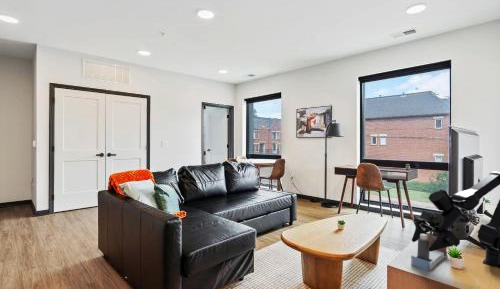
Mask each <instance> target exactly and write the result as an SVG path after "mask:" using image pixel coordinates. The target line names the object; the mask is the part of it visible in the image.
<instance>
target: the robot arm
mask: <svg viewBox="0 0 500 289" xmlns="http://www.w3.org/2000/svg"><path fill="white" fill-rule="evenodd" d="M499 186H500V171H491V172H490V173H489V174H488V175H487V176H486V177H484V178H483V179H481V180H479V182H477V183H476V184H474V185H473V186H472V187H470V188H468V189H465V190H464V189H463V190H460V191H458V192H456V193H454V194H453V195H452V196H451V195H449V194H448V192H447V191H446V190H445V189H440V190H438V191H437V190H436V191H435V192H431V194H429V196H428V200H429V201H430V202H431V203H432V205H433V206H434V208H436V209H437V210H438V211H440V213H436V212H434V213H431V212H428V211H426V210H422V212H421V214H420V216H419V217H415V218H414V219H413V220H412V222H413V225H414V227H415V228H414V233H413V235H412V238H411V241H412V243H415V242H418V238H420V234H426V235H427V233H430V231H431V232H432V233H433V232H434V233H436V234H437V239H436V240H435V241H434V243H433V244H432V245H431V246H430V247H429V249H428V250H429V251H430V252H431V251H434V250H438V249H441V248H446V247H447V248H450V247H452V248H453V247H456V248H457V247H458V246H459V245H460V244H461V239H460V238H458V236H457V235H456V234H455V233H454V232H453V231H451V230H450V229H452V230H453V229H454V228H455V226H454V224H456V222H458V220H459V219H463V220H466V219H467V215H466V212H465V211H469V212H470V211H473V210H474V209H475V208H476V207H477V206H478V205H479V204H480V200H481V199H482V198H483V197H484V196H486V195H487V194H489V193H490V192H492V191H493V190H494V189H495V188H497V187H499ZM461 209H462V210H464V211H462V210H461ZM477 238H478V241H479V246H482V247H484V248H485V258H484V260H482V263H483V264H486V265H489V266H492V267H496V268H500V199H499V200H498V202H497V204H496V206H495V209H494V210H493V213H492V216H491V219H490V220H489V222H488V223H487V224H483V223H481V224H480V226H479V230H478V231H477Z"/></svg>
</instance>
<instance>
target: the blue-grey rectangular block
mask: <svg viewBox="0 0 500 289" xmlns="http://www.w3.org/2000/svg"><path fill="white" fill-rule="evenodd" d="M444 259H445V255H444V252H441V251H437V250H434V251H431V252H430V251H429V261H427V260H424V259H421V258H418V257H417V254H415V255H411V260H410V261H411V262H410V265H411V266H414V267H418V268H420V269H423V270H424V271H428V272H429V271H432V269H434V268H435V267H436V265H438V264H439V263H440V262H441V261H443V260H444Z"/></svg>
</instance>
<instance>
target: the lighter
mask: <svg viewBox="0 0 500 289" xmlns="http://www.w3.org/2000/svg"><path fill="white" fill-rule="evenodd" d="M427 235H428V240H430V246H431V245H432V244H433V243H434V241H435V240H436V239H437V234H436V233H434V232H431V231H429V232H427ZM447 248H448V247H446V248H441V249H438V250H437V251H441V252H444V256H447V255H448V253H447V252H448V251H447Z"/></svg>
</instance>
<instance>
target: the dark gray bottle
mask: <svg viewBox="0 0 500 289" xmlns="http://www.w3.org/2000/svg"><path fill="white" fill-rule="evenodd" d="M429 247H430V240H428V235H426V234H420V238H418V240H417V254H416V255H417V257H418V258H421V259H424V260H427V261H429V250H428V249H429Z"/></svg>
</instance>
